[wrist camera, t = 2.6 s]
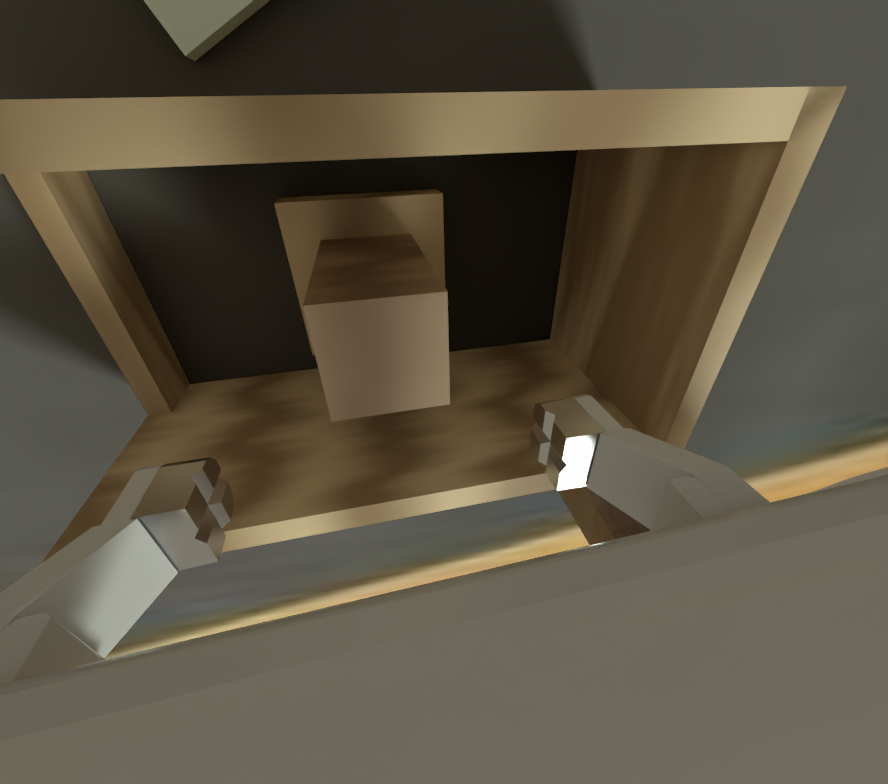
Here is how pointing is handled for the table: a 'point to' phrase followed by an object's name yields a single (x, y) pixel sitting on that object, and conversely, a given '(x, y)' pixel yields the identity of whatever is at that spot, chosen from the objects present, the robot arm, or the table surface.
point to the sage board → (201, 21)
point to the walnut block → (378, 326)
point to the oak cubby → (421, 214)
